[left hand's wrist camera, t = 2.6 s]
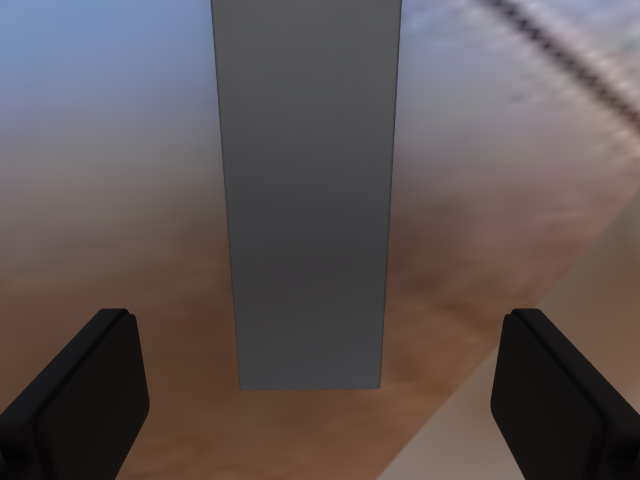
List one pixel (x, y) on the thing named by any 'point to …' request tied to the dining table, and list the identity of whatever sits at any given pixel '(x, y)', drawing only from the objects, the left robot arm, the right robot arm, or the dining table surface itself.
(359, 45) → the beam
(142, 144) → the dining table surface
